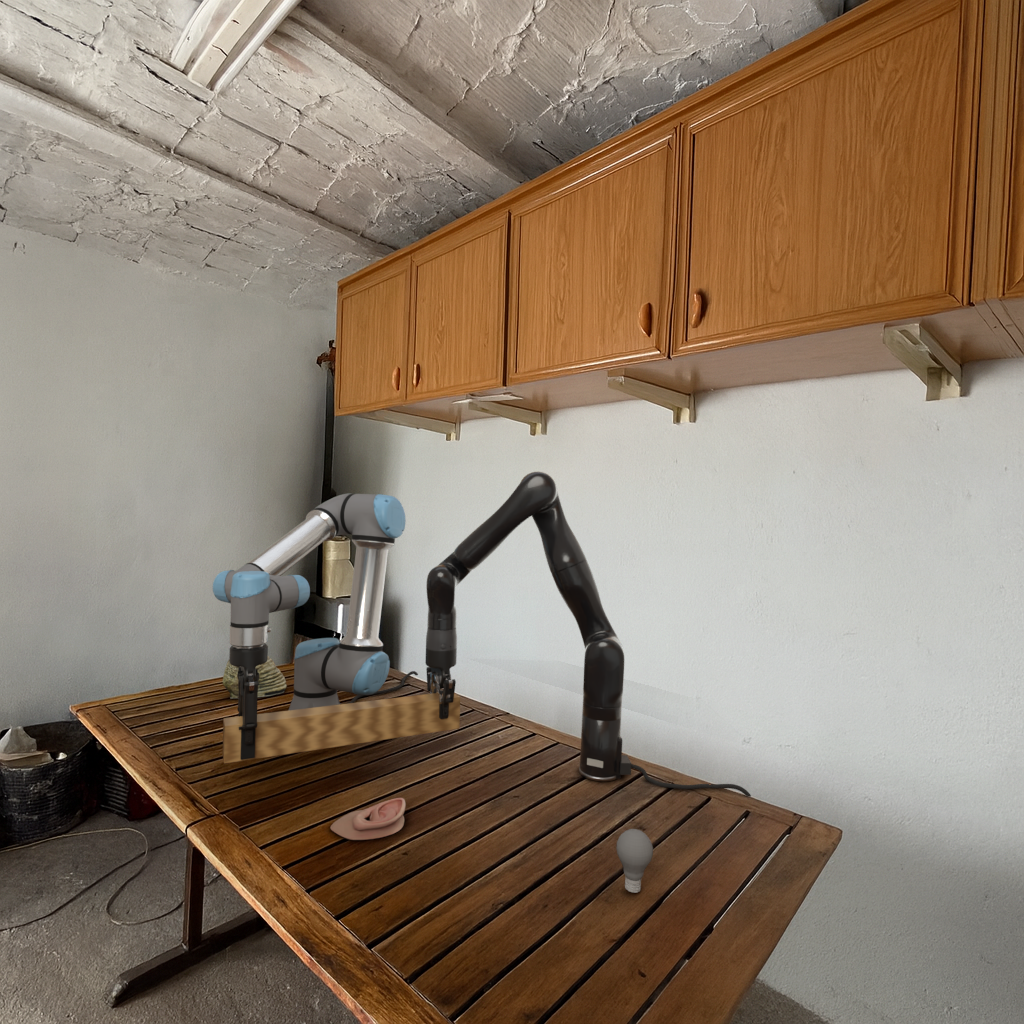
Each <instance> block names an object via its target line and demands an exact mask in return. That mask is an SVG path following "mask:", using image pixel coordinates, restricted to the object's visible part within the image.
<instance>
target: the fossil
mask: <svg viewBox="0 0 1024 1024" xmlns="http://www.w3.org/2000/svg"><path fill="white" fill-rule="evenodd" d="M240 667H241V666H240ZM238 668H239V667H237V666H233V665H231V664H230V662H229V659H228V660H227V663H226V666H225V668H224V671H223V675H222V676H223V677H222V685H223V687H224V688H225V690H226V691H228V693H229V698H230V699H238V691H239V689H238V677H237V672H238ZM256 669H257V670H258V672H259V681H258V682H259V685H258V698H264V697H271V696H275V695H281V694H284V693H285V691H286V689H287V687H288V686H287V680H286V678H285V676H284V674H283V673H282V672H281V669H279V668H278V667H277V665H276V663H275V662H274V660H273V659H272V658H271V657H270V656H269V655H268V659H267V662H266V663H264V664H262V665H258V666H256Z"/></svg>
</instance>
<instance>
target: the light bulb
mask: <svg viewBox="0 0 1024 1024" xmlns="http://www.w3.org/2000/svg"><path fill="white" fill-rule="evenodd" d="M615 849H616V854H617V857H618V859H619V861H620V863H621V865H622V867H623V873H624V874H623V875H624V876H625V878H624V888H625V890H627V891H628V892H630V893H634V894H635V893H639V892H640V891H641V889H642V887H641V886H642V879H643V877H644V875H645V871H646V868H647V867H648V866H649V864H650V863H651V861H652V859H653V855H654V847H653V843H652V841H651V838H649V836H648V835H647V834H646V833H645V832H643V831H642V830H641V829H636V828H629V829H627V830H625V831H623V832H622V833H621V834H620V835H619V837H618V839H617V841H616V847H615Z"/></svg>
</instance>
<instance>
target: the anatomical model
mask: <svg viewBox="0 0 1024 1024" xmlns="http://www.w3.org/2000/svg"><path fill="white" fill-rule="evenodd" d="M406 807H407V804H406V799H405V798H403V797H396V798H391V799H388V800H385V801H382V802H378V803H376V804H374V805H372V806H370V807H367V808H364V809H360V810H355V811H351V812H348V813H347V814H344V815H343V816H341V817H340V818H338V819H336V820H335V821H334V822H333V823H332V824H331V825H330V830H331V832H333V833H335V834H337V835H338V836H339V837H342V838H344V839H346V840H351V841H365V840H374V839H380V838H384V837H388V836H391V835H394V834H395V833H397V832H399V831H400V830H402V829H403V828H404V825H405V816H404V814H405V812H406V811H405V810H406Z"/></svg>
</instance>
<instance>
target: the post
mask: <svg viewBox="0 0 1024 1024" xmlns="http://www.w3.org/2000/svg"><path fill="white" fill-rule="evenodd" d="M442 696H443V694H442ZM446 698H447V697H446ZM347 703H348V704H346V703H342V704H341V703H340V705H331V706H323V707H315V708H306V709H298V710H289V709H288V710H289V711H288V710H282V711H273V712H264V713H257V728H256V730H255V758H250V759H243V760H241V759H240V756H241V730H239V727H241V726H242V725H243V720H242V716H232V717H231V716H230V717H224V718H223V720H222V721H223V722H222V723H223V724H222V760H223V764H230V763H237V762H243V761H249V760H256V759H263V758H269V757H277V756H283V755H291V754H297V753H304V752H312V751H318V750H323V749H331V748H339V747H344V746H345V747H346V746H351V745H357V744H358V745H359V744H364V743H371V742H378V741H383V740H391V739H392V740H393V739H398V738H399V739H400V738H405V737H412V736H418V735H427V734H432V733H438V732H444V731H452V730H458V729H460V725H461V724H460V722H461V696H460V695H459V694H458V693H456V692H454V700H453V702H452V703H449V716H448V718H447V719H440V718H439V695H438V694H437V693H433V694H430V693H425V694H424V693H423V694H417V695H409V696H408V695H407V696H400V697H391V698H383V699H374V700H367V701H358V702H354V703H349V702H347Z"/></svg>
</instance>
